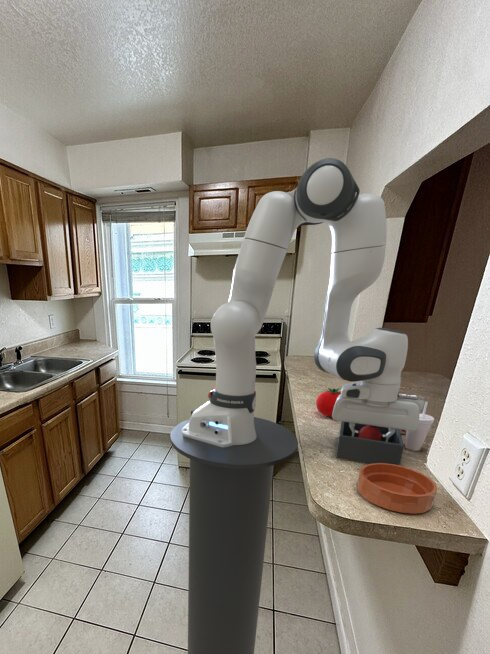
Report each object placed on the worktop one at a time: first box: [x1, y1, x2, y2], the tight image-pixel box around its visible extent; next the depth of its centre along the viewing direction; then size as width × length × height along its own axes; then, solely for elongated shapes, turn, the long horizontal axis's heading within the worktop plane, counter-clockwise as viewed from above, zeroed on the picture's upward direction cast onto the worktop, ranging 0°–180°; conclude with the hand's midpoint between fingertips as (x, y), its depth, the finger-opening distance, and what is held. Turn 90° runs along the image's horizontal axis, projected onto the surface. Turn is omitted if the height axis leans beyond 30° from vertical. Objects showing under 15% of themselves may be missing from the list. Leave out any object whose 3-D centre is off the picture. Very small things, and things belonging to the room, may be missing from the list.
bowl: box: [356, 463, 438, 515], centre depth 78 cm, size 14×14×4 cm
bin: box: [335, 421, 405, 466], centre depth 98 cm, size 15×15×7 cm
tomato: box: [315, 387, 341, 418], centre depth 125 cm, size 10×10×10 cm
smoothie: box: [404, 401, 435, 452], centre depth 99 cm, size 6×6×14 cm
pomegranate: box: [357, 425, 382, 441], centre depth 97 cm, size 6×6×8 cm
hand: (368, 439), depth 97 cm, fingers closed on pomegranate, 6 cm apart
